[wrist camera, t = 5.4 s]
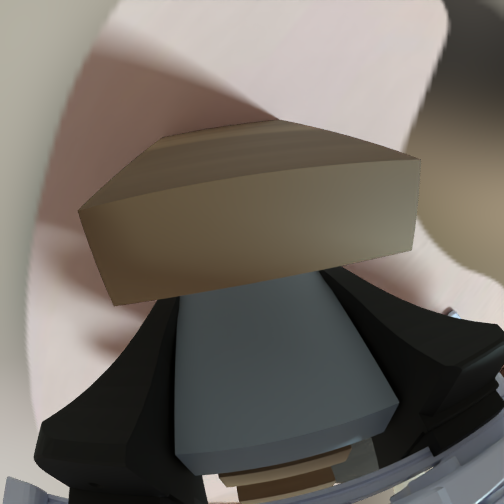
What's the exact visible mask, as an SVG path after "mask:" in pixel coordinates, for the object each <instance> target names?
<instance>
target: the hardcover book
mask: <svg viewBox="0 0 504 504" xmlns="http://www.w3.org/2000/svg"><path fill="white" fill-rule="evenodd" d="M350 445H351V447H352V449H351V451H350V453H349V456H348V458H347V460H346V461H345V462H342V463H339V464H335V465H332V466H331V468H332V471H333V474H334V476H335V479H336V481H335V483H344V482H347V481H350V480H353V479H356V478H359V477H361V476H364V475H367V474H369V473H372V472H374V471H377V470H379V466H378V461H377V457H376V453H375V449H374V445H373V442H372V438H371V437H370V438H367V439H364V440H361V441H359V442H356V443H353V444H350Z"/></svg>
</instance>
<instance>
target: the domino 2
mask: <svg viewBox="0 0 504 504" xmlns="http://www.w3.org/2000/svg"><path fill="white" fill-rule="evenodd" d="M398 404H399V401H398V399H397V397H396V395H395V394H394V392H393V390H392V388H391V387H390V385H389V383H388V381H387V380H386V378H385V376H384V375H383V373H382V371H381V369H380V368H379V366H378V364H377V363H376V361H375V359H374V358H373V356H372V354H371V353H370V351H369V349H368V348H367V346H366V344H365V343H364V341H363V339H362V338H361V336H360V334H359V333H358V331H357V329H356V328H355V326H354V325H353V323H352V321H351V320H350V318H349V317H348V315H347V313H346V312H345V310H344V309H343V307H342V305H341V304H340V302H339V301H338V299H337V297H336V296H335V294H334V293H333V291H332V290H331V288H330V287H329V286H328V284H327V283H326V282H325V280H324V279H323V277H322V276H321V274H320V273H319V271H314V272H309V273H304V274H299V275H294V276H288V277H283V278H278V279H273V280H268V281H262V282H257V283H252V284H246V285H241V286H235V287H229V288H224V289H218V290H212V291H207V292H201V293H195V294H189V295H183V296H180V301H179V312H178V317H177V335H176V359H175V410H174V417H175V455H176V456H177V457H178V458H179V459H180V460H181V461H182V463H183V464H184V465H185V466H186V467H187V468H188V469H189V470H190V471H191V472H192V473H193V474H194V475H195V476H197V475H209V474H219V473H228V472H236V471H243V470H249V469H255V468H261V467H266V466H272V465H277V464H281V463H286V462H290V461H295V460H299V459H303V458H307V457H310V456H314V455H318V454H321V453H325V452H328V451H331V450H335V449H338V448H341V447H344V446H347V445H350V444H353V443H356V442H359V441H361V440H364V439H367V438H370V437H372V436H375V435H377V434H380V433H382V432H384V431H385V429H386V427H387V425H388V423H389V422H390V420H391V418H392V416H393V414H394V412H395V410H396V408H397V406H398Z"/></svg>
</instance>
